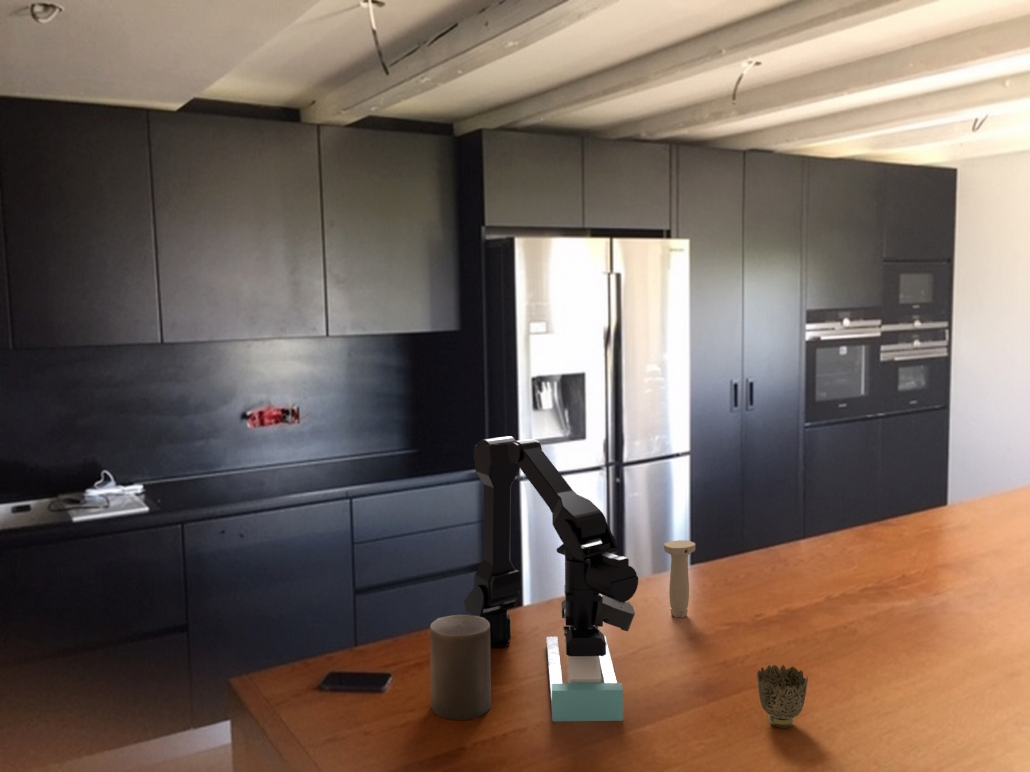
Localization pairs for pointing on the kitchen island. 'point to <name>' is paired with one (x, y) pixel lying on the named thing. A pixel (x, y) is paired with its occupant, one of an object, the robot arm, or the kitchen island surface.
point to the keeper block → (583, 669)
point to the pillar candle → (460, 667)
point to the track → (584, 692)
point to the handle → (679, 575)
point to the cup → (782, 694)
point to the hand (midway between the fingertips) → (582, 674)
